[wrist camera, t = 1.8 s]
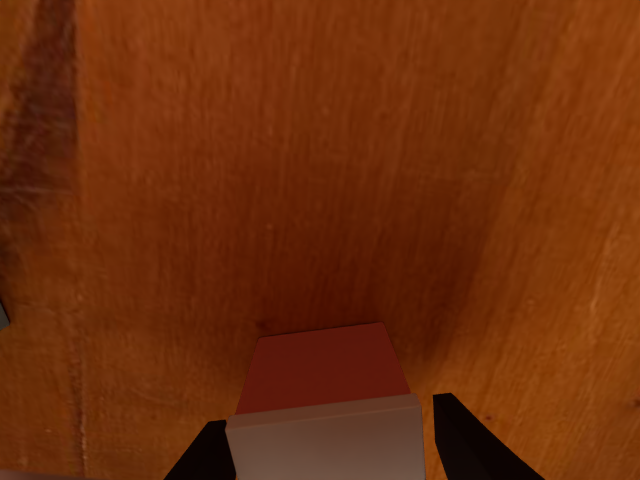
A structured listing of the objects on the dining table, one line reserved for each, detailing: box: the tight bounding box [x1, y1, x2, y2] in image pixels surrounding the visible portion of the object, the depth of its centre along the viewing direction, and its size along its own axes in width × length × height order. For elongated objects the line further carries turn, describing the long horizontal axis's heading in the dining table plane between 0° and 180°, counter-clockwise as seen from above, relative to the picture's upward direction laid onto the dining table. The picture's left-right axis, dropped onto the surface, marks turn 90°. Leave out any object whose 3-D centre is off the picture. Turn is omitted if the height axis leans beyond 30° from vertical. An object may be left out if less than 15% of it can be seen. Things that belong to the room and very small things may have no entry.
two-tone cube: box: [225, 322, 426, 480], centre depth 11 cm, size 5×5×4 cm
